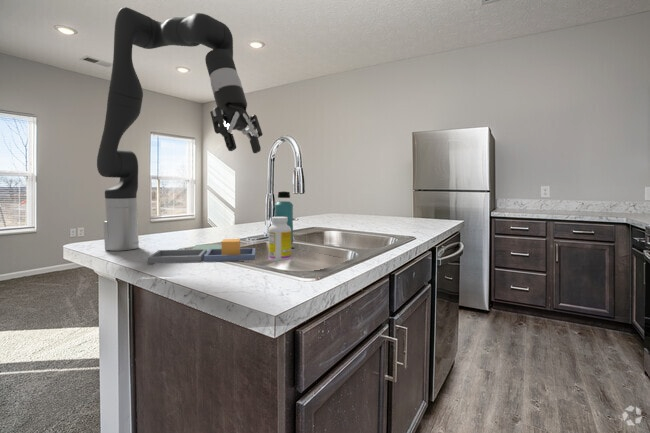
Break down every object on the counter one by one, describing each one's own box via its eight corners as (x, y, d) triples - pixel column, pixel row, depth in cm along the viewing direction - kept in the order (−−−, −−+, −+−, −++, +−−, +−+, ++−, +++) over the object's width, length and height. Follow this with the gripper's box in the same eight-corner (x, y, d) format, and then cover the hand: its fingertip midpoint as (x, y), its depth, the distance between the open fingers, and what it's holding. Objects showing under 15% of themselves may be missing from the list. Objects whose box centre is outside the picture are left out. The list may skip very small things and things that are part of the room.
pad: (189, 254, 110) (189, 251, 110) (196, 247, 122) (196, 244, 121) (228, 253, 112) (228, 250, 112) (231, 246, 124) (231, 244, 124)
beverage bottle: (283, 246, 124) (282, 191, 122) (297, 249, 121) (297, 191, 119) (270, 249, 119) (269, 191, 117) (284, 252, 115) (284, 191, 113)
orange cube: (221, 258, 102) (221, 241, 102) (223, 255, 107) (223, 239, 107) (239, 258, 103) (238, 241, 103) (240, 254, 108) (240, 238, 108)
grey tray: (147, 264, 96) (147, 257, 96) (158, 256, 107) (158, 250, 106) (200, 263, 99) (200, 256, 99) (206, 255, 109) (206, 249, 109)
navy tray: (204, 263, 99) (203, 256, 99) (209, 255, 109) (209, 248, 109) (254, 261, 101) (254, 254, 101) (255, 254, 112) (255, 247, 111)
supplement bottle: (293, 257, 107) (293, 216, 106) (288, 262, 100) (288, 218, 99) (271, 257, 107) (271, 215, 106) (266, 262, 101) (265, 218, 100)
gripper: (239, 103, 97) (254, 158, 95) (196, 92, 85) (213, 155, 83) (257, 90, 93) (274, 147, 91) (215, 77, 81) (234, 142, 79)
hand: (245, 151), depth 87 cm, fingers open, 8 cm apart
